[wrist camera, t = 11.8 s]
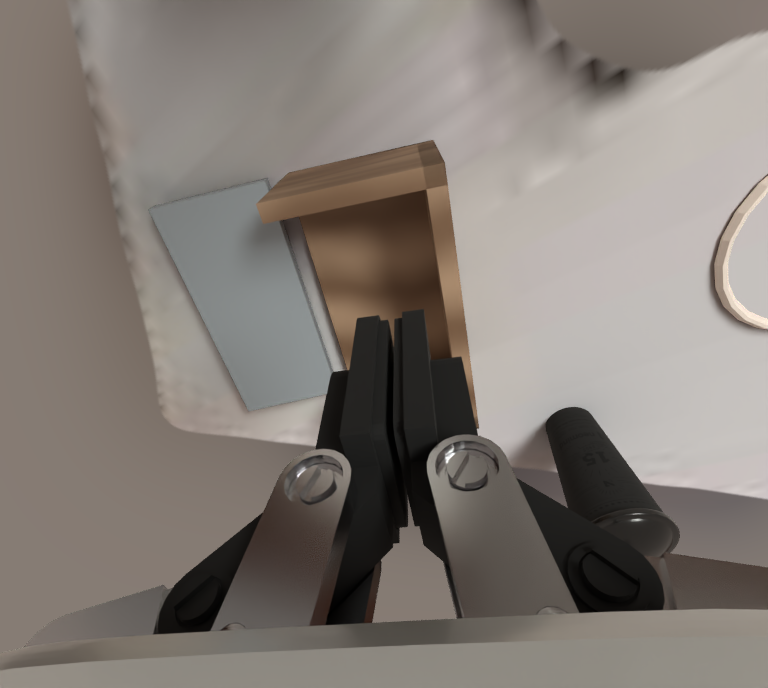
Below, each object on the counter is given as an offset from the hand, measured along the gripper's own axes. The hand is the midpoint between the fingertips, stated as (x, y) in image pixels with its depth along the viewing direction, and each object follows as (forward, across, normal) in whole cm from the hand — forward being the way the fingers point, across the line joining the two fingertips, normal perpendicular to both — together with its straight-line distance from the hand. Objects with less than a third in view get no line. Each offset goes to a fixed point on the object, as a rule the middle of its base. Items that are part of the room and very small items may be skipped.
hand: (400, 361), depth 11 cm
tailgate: (+24, +10, +10) cm, 28 cm away
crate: (+25, +3, +10) cm, 27 cm away
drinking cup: (+24, -14, +29) cm, 40 cm away
